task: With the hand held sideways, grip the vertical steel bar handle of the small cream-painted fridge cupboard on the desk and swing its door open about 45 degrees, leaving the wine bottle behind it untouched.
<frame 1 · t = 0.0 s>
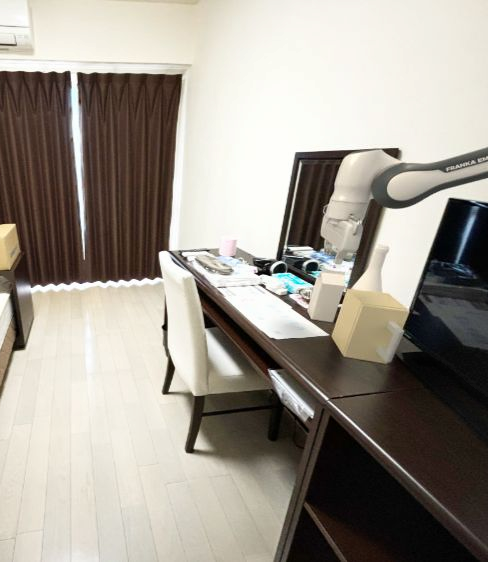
hand: (331, 258, 91), 29 cm above the table, tool pointing down, fingers open, 8 cm apart
fridge: (356, 348, 98), on the table
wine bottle: (354, 324, 112), on the table
milk carton: (319, 317, 117), on the table
fridge door: (378, 339, 87), point 9 cm above the table, hinge at 0.0°
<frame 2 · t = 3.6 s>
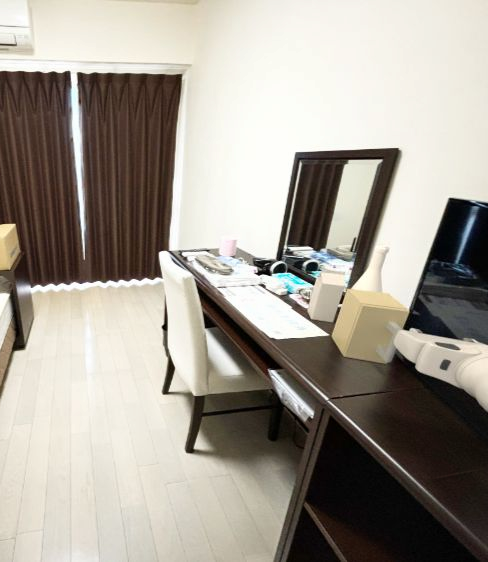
hand: (439, 336, 69), 20 cm above the table, tool horizontal, fingers open, 8 cm apart
nothing on the table moved.
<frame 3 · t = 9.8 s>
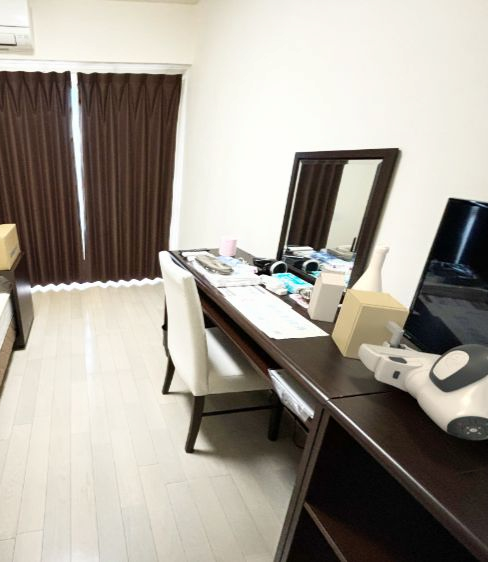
hand: (393, 345, 84), 9 cm above the table, tool horizontal, fingers closed, pressing on fridge door
fridge door: (378, 339, 87), point 9 cm above the table, hinge at -0.1°, touching gripper
everything else where it was.
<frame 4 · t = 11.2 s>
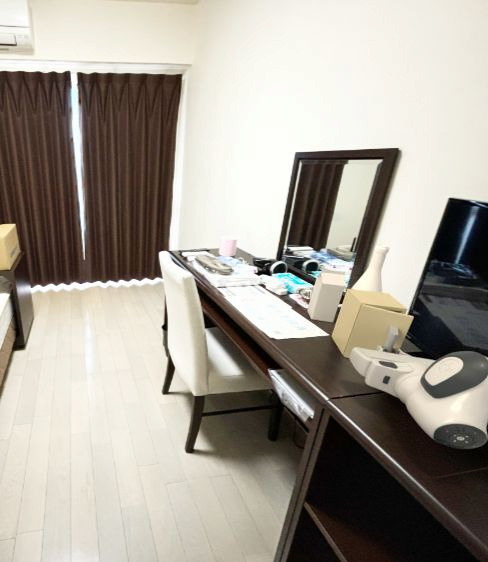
hand: (387, 349, 82), 9 cm above the table, tool horizontal, fingers closed
fridge door: (375, 341, 85), point 9 cm above the table, hinge at 21.4°, touching gripper
everything else where it was.
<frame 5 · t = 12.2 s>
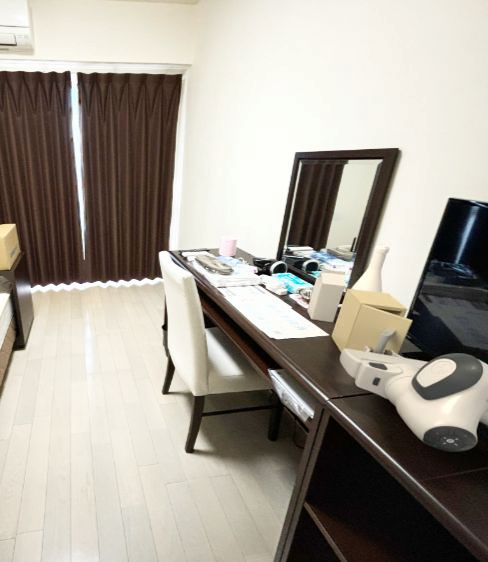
hand: (377, 350, 82), 9 cm above the table, tool horizontal, fingers open, 3 cm apart
fridge door: (371, 342, 85), point 9 cm above the table, hinge at 37.6°
everything else where it was.
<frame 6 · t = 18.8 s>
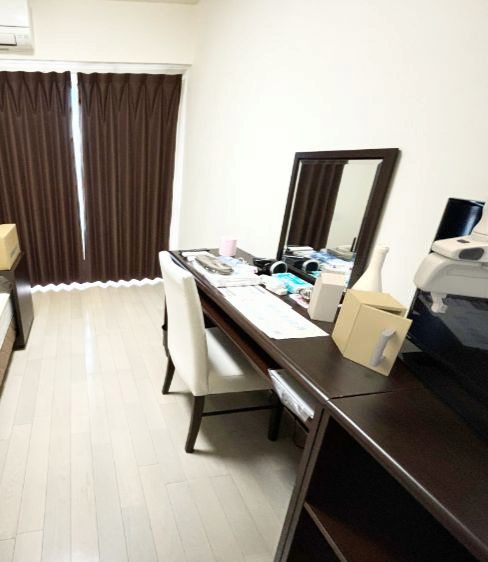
hand: (466, 315, 62), 27 cm above the table, tool pointing down, fingers open, 8 cm apart
nothing on the table moved.
at the end: fridge door at +38° (first picture: +0°); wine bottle moved 0.2 cm from its start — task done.
